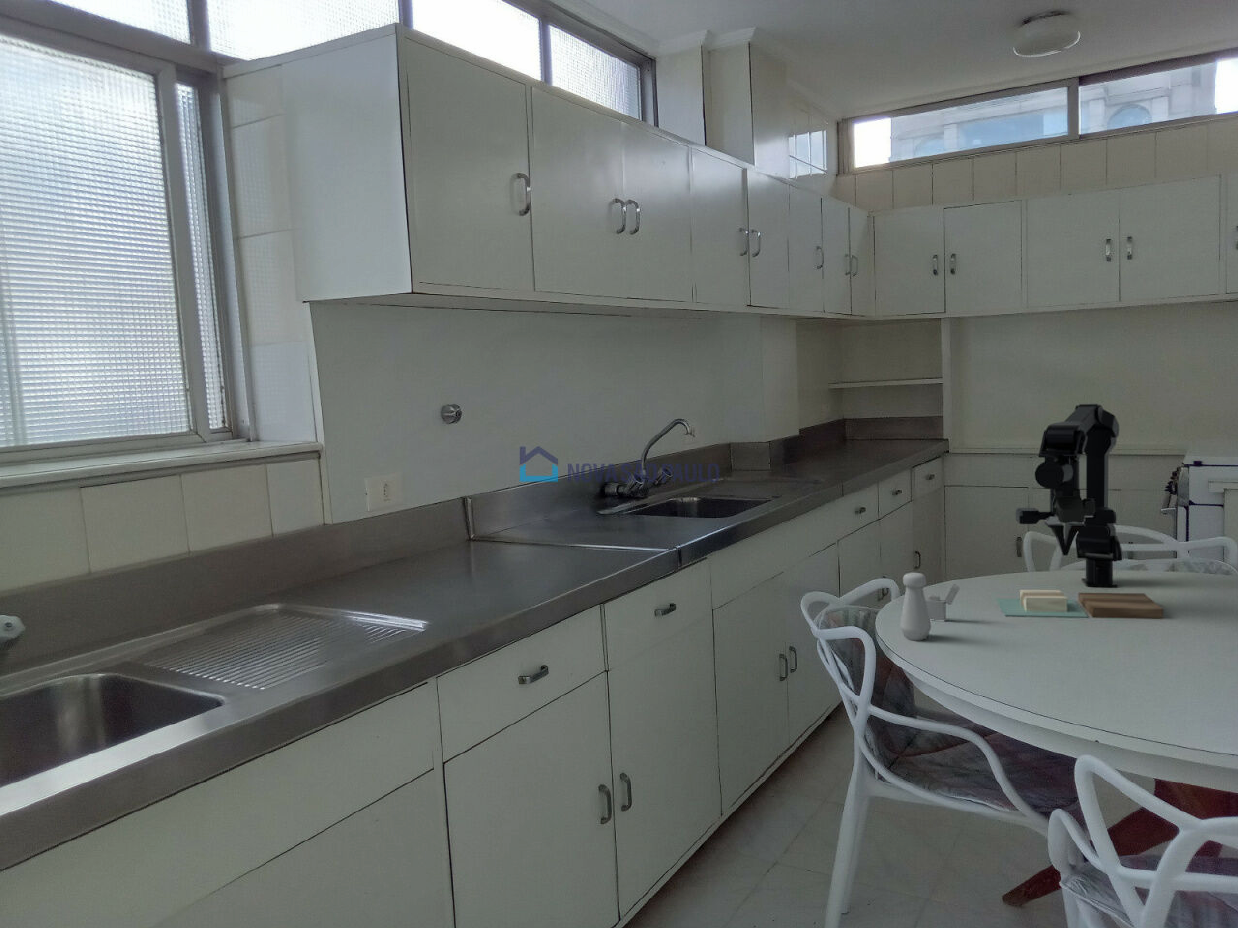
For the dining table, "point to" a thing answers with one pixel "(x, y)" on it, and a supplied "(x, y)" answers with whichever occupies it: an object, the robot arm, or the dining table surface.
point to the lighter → (940, 604)
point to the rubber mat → (1016, 609)
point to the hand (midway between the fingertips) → (1064, 555)
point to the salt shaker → (915, 608)
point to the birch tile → (1043, 600)
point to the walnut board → (1120, 605)
